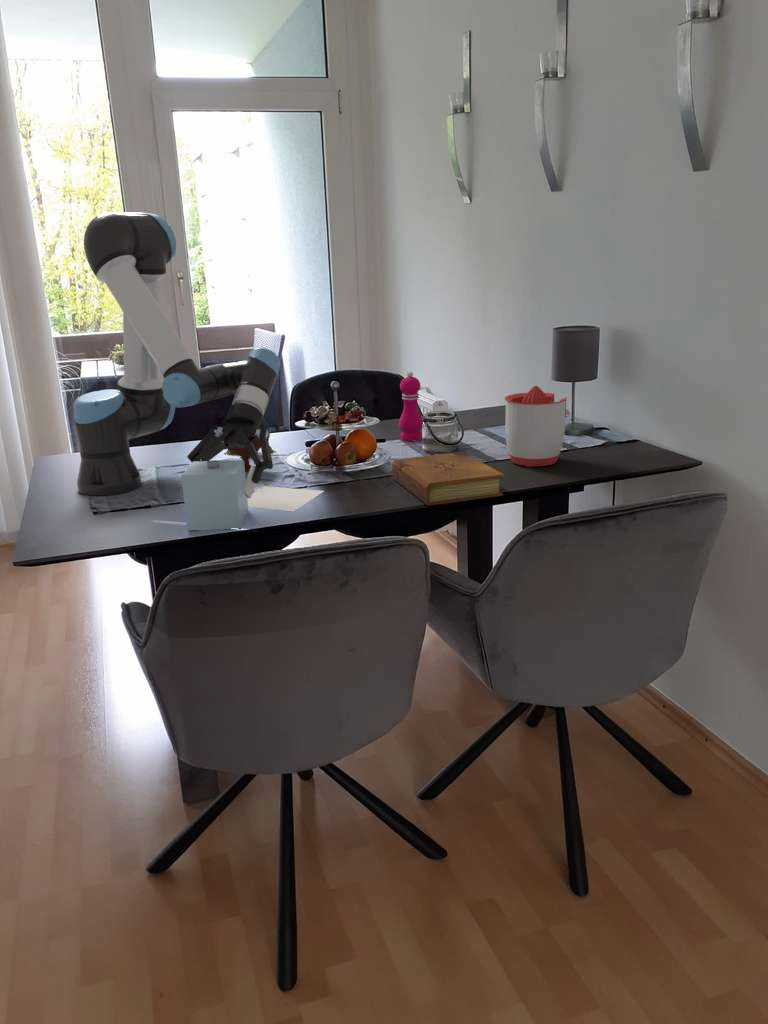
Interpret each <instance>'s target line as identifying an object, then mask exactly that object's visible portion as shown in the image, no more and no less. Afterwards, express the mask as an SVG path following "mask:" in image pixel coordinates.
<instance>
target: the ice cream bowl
mask: <svg viewBox="0 0 768 1024" xmlns="http://www.w3.org/2000/svg"><path fill="white" fill-rule="evenodd" d="M223 443H226V441H225V440H223ZM252 443H253V445H254V447H255V450H256V452H257V453H258V452H259V451H260V450H261V445H260V440H259V437H258V436H257V437H256V438H255V439H254V440H253V441H252ZM227 450H229V451H230V452H231V453H233V455H235V456H239V457H241V458H242V459H241V458H240V459H241V460H244V466H245V473H249V470H250V468H251V465H252V464H250V459H249V457H250V456H251V455H250V453H249V451H248V449H247V447H244V448H239V447H235V448H231V447H229V448H228V449H227Z"/></svg>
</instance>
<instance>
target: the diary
mask: <svg viewBox="0 0 768 1024" xmlns="http://www.w3.org/2000/svg"><path fill="white" fill-rule="evenodd" d="M391 465H392V466H391V469H392V470H391V471H392V479H393V480H394V481H395V482H396V483H398V484H399V485H400V486H401V487H403V488H404V489H405V490H407V491H408V492H410V494H412V495H413V494H414V497H416V498H417V499H419V500H420V501H421V502H422V503H423V504H425V505H427V506H435V505H436V506H437V505H443V504H451V503H458V502H464V501H471V500H472V501H473V500H479V499H480V500H482V499H487V498H496V497H502V496H504V493H502V492H501V491H500V479H503V478H504V473H503V472H501V471H498V470H496V469H495V468H493V467H492V466H490V465H487V464H486V463H484V462H482V461H480V460H478V459H476V458H475V457H472V456H471V455H469V454H467V453H465V452H463V451H458V452H450V453H449V452H447V453H440V454H432V455H431V454H430V455H424V456H423V455H422V456H413V457H407V458H406V457H405V458H396V459H394V460H393V462H392V463H391Z"/></svg>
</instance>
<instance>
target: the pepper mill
mask: <svg viewBox="0 0 768 1024" xmlns="http://www.w3.org/2000/svg"><path fill="white" fill-rule="evenodd" d="M406 376H407V377H403V379H402V380H401V381H400V384H399V389H400V391H401V392H402V394H401V395H402V397H401V399H402V400H403V410H402V413H401V416H400V418H399V423H398V428H399V429H400V430H401V431H402V432H401V433H400V440H402V441H404V442H405V441H406V442H414V441H413V440H418V441H421V440H422V439H423V433H422V432H421V430H422V429H423V427H422V424H423V425H424V420H423V417H422V415H421V413H420V411H419V407H418V400H419V399H420V394H419V393H418V392H420V390H421V382H420V380H419V379H418V378H417V377H414V373H413V372H412V371H408V372H407V374H406ZM421 438H422V439H421ZM420 439H421V440H420Z"/></svg>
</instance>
